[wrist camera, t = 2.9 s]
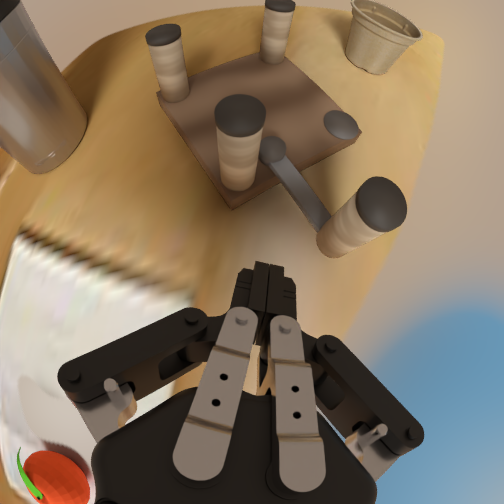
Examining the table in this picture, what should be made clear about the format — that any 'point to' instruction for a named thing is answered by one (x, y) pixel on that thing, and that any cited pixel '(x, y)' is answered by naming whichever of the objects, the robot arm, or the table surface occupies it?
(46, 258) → the table surface
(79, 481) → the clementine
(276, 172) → the swing leg
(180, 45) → the stool
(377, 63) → the flower pot
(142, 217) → the table surface
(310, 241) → the table surface
